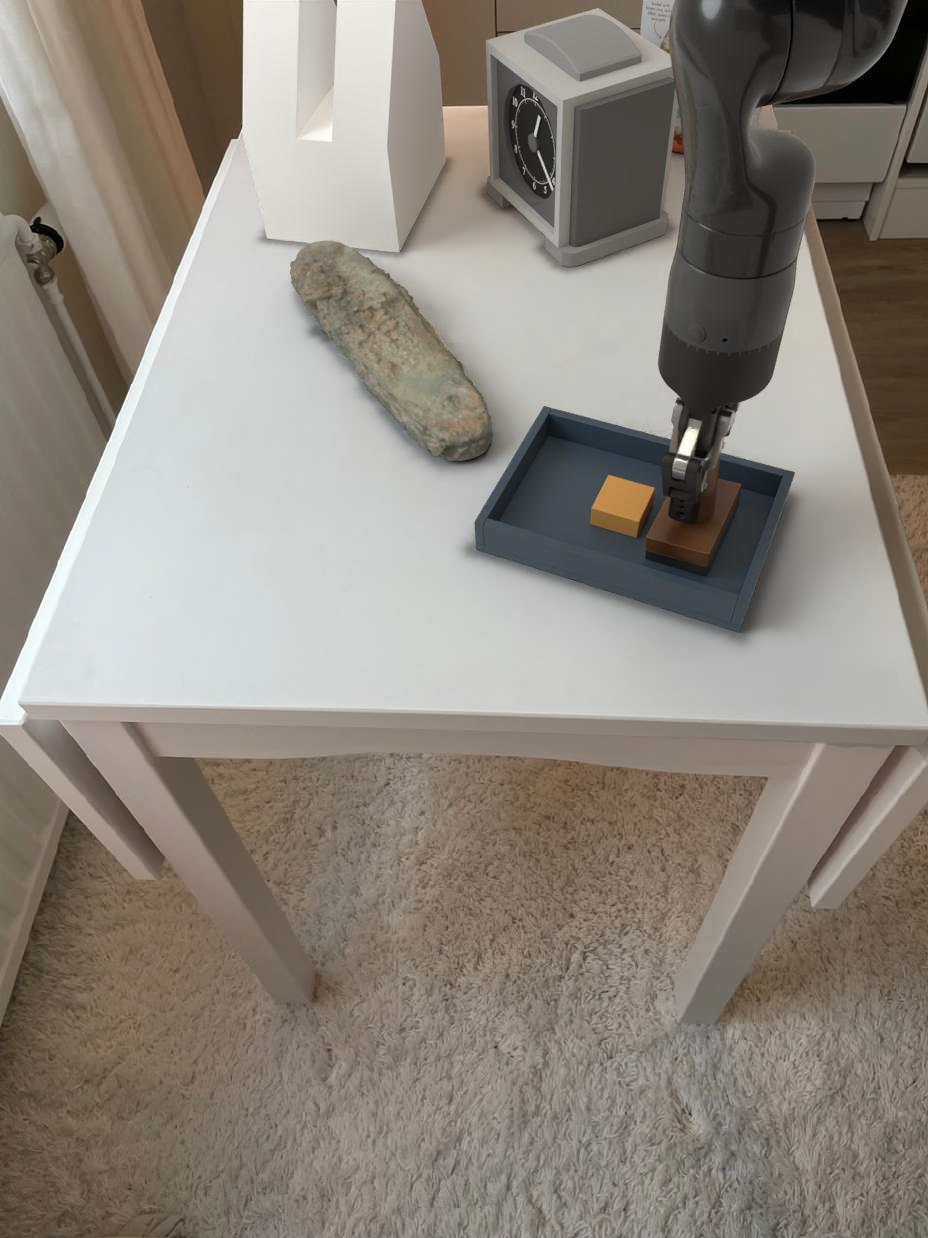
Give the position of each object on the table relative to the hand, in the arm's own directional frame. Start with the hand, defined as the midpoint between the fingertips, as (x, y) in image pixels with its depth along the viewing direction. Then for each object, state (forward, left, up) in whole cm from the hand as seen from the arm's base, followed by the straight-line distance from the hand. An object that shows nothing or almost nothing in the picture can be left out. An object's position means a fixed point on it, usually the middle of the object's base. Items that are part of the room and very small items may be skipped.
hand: (689, 501), depth 74 cm
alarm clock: (+25, -42, -4) cm, 49 cm away
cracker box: (+17, -60, -4) cm, 62 cm away
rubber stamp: (-1, 0, -3) cm, 3 cm away
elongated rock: (+33, -12, -4) cm, 36 cm away
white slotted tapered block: (+49, -36, -4) cm, 61 cm away
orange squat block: (+5, 0, -3) cm, 6 cm away
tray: (+4, 0, -4) cm, 6 cm away
